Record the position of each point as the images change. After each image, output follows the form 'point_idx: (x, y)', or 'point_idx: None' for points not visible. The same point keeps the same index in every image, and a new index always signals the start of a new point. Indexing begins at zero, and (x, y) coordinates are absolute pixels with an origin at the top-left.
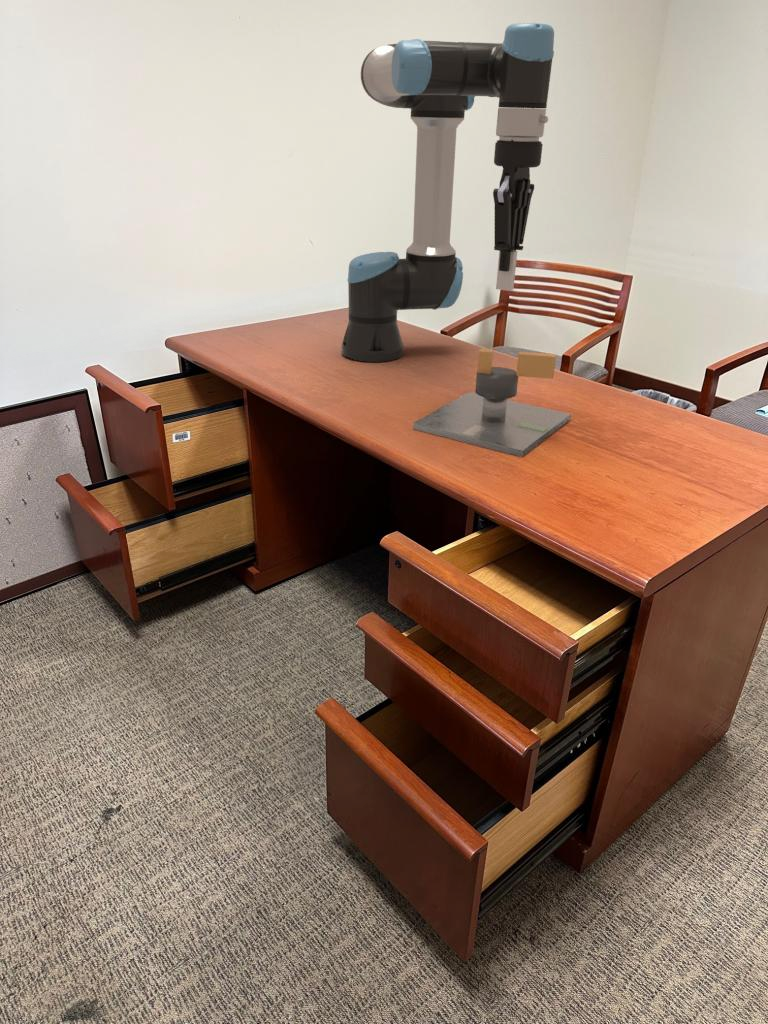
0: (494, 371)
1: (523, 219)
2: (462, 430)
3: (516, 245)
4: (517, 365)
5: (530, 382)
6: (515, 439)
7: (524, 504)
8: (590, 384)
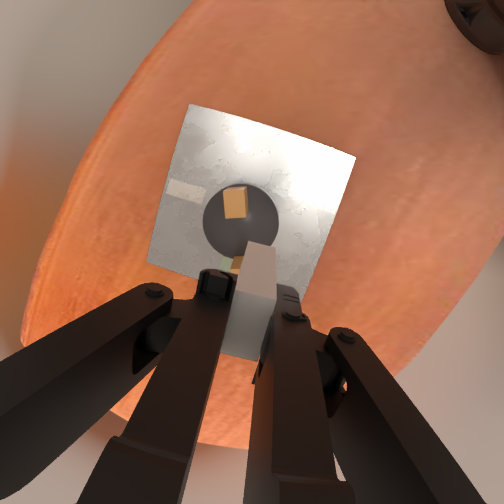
0: (248, 216)
1: (343, 463)
2: (183, 176)
3: (257, 369)
4: (232, 262)
5: (440, 241)
6: (176, 249)
7: (59, 271)
8: (440, 318)
